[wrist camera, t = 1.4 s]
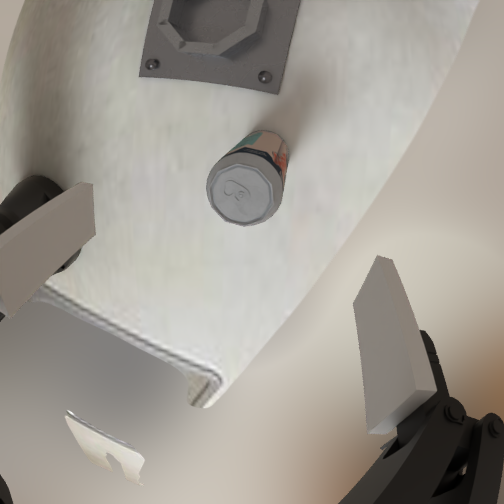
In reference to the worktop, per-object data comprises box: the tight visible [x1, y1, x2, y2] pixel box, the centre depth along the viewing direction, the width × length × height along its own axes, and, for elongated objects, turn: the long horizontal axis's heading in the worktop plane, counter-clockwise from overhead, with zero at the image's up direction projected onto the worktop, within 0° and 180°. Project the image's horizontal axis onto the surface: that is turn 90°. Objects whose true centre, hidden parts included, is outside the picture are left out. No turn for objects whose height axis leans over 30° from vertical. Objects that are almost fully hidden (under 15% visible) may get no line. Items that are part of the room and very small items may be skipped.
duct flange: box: [139, 0, 300, 95], centre depth 19 cm, size 14×14×4 cm
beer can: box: [206, 131, 289, 227], centre depth 22 cm, size 5×5×12 cm
